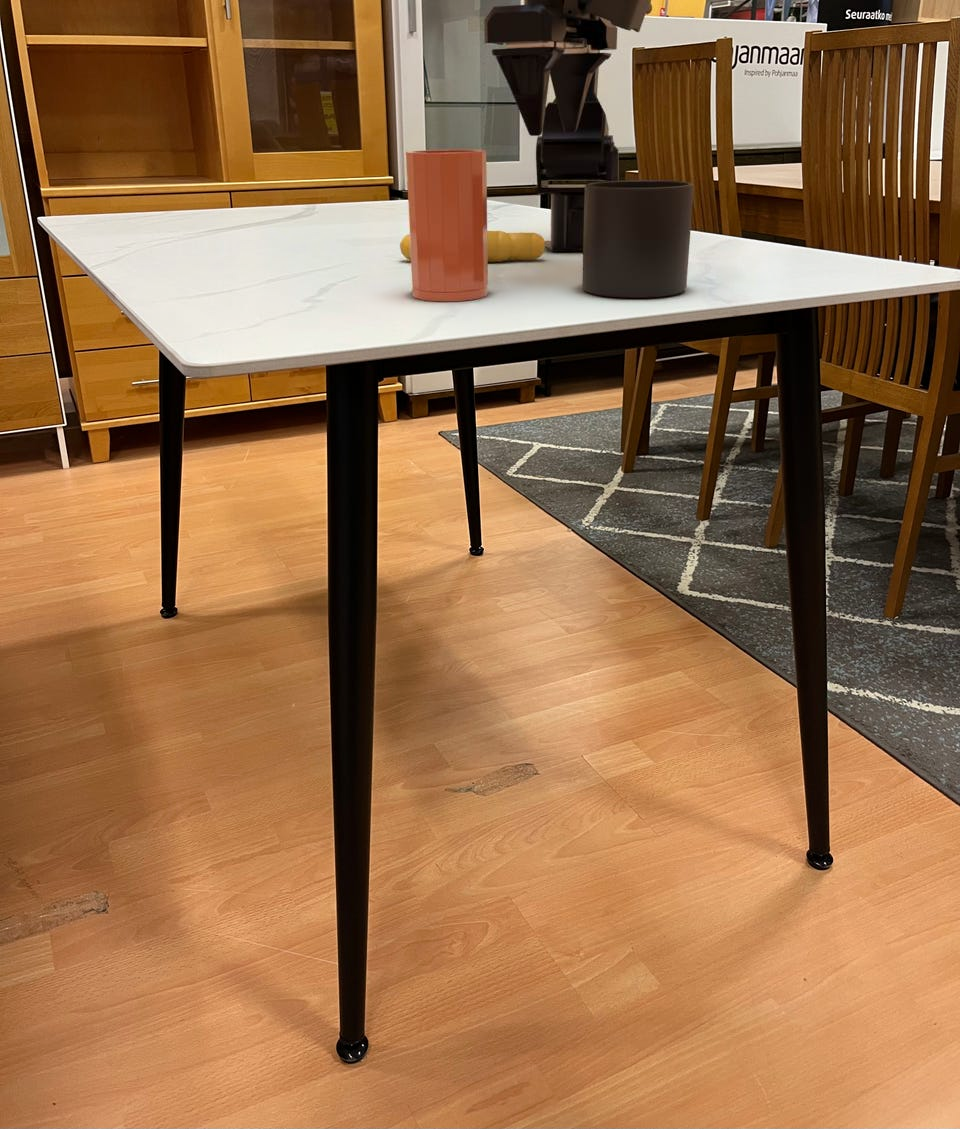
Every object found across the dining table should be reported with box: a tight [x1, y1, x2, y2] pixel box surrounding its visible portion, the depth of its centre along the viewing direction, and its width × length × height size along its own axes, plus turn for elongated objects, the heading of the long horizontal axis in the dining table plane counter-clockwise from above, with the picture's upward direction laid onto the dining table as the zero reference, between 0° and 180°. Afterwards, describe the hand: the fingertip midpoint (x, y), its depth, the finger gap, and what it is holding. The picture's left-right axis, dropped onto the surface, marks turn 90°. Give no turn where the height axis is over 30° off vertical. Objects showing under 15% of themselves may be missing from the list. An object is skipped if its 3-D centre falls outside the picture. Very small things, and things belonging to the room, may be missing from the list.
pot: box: [405, 148, 489, 302], centre depth 85 cm, size 7×7×12 cm
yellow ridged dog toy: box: [399, 230, 546, 263], centre depth 105 cm, size 16×4×3 cm, turn 86°
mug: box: [581, 179, 695, 299], centre depth 87 cm, size 9×12×9 cm
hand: (553, 134), depth 92 cm, fingers open, 9 cm apart
